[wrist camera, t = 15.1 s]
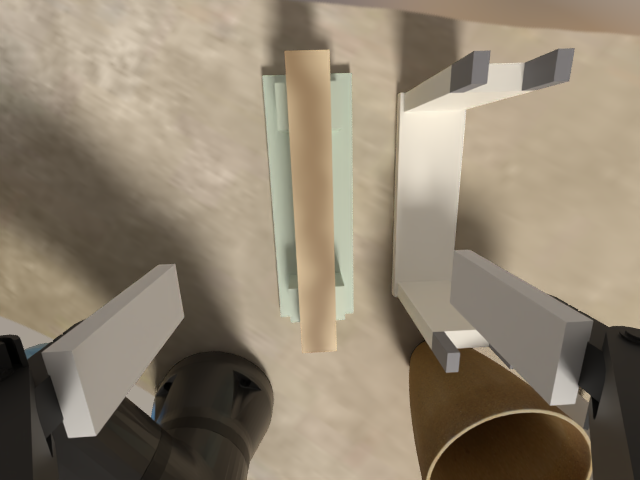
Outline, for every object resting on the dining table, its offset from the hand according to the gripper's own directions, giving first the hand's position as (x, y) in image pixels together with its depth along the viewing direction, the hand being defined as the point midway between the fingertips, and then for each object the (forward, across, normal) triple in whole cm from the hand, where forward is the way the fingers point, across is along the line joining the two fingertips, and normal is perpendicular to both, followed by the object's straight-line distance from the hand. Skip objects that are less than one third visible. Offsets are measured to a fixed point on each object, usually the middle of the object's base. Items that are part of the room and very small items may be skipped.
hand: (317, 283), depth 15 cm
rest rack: (+22, 0, 0) cm, 22 cm away
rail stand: (+22, +13, 0) cm, 26 cm away
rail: (+17, 0, 0) cm, 17 cm away
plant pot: (+22, +16, -22) cm, 35 cm away
